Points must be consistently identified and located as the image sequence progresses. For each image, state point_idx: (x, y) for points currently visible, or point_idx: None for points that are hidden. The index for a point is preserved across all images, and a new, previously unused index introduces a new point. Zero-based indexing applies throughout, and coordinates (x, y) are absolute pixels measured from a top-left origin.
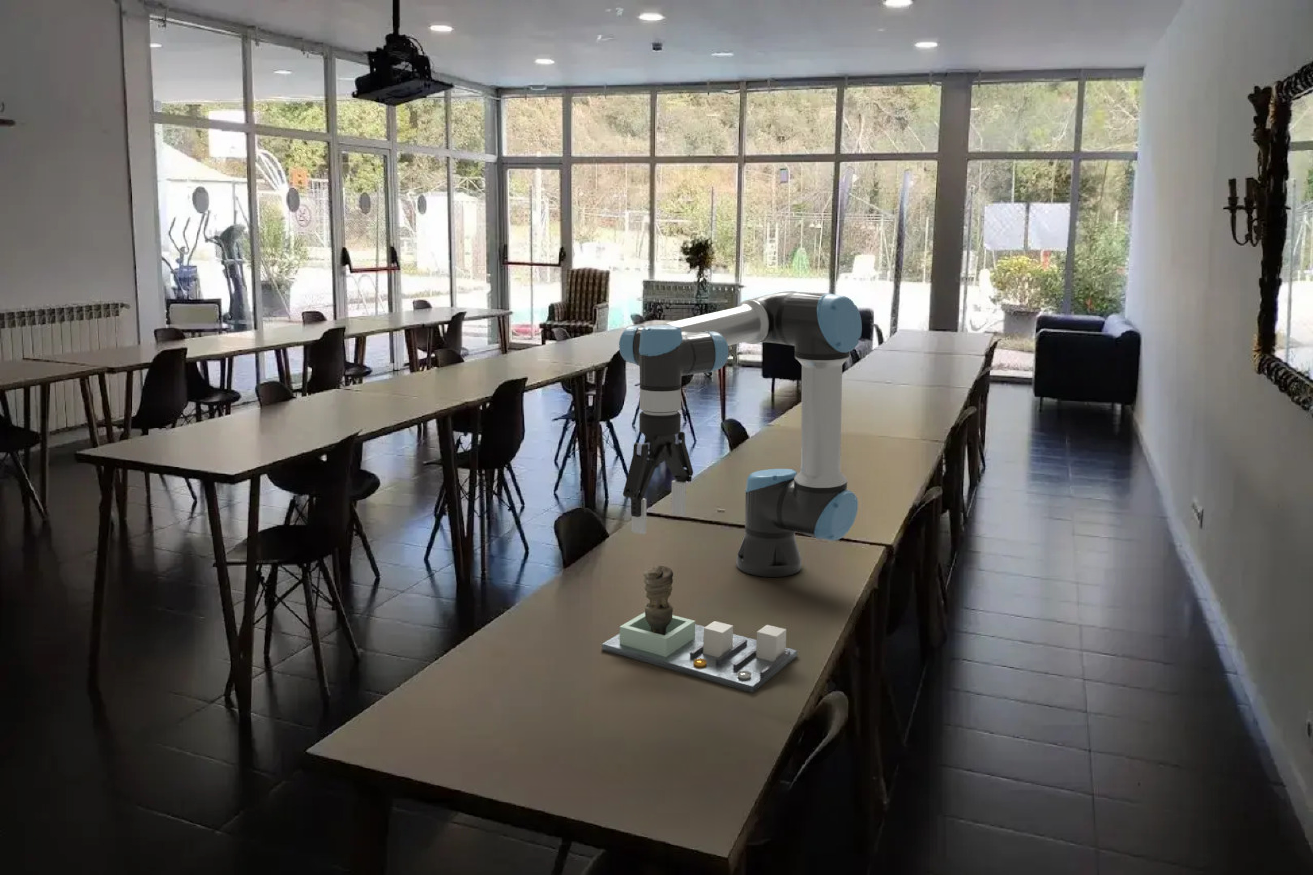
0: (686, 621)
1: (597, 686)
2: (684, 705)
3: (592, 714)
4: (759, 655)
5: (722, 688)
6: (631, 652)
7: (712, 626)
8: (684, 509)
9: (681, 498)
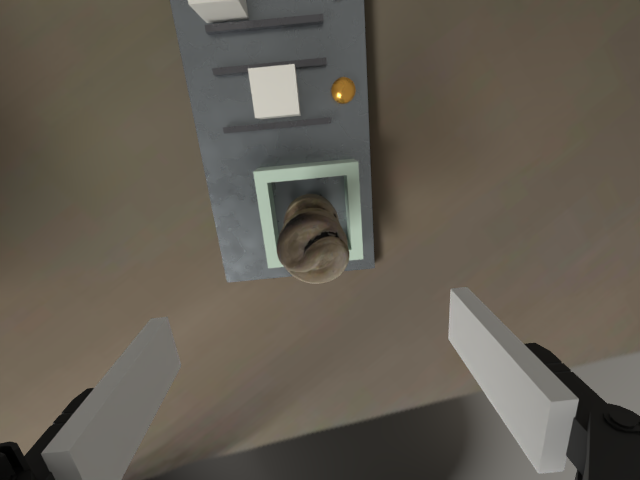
0: (267, 183)
1: (479, 188)
2: (466, 30)
3: (560, 133)
4: (246, 9)
5: (375, 13)
6: (372, 214)
7: (281, 103)
8: (145, 334)
9: (132, 380)
